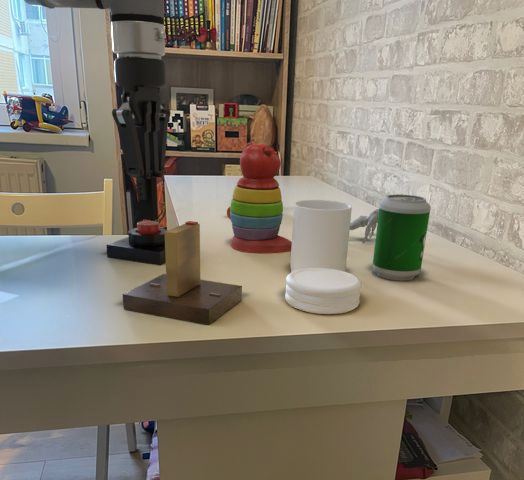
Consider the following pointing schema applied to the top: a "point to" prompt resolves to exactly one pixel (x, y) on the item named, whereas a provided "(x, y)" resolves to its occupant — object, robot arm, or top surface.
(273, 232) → the stacking bear
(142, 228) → the release button
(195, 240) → the lock turn
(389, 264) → the soda can
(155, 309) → the plate
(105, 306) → the top surface
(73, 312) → the top surface
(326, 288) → the coaster
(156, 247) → the release box
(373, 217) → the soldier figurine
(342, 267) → the mug
